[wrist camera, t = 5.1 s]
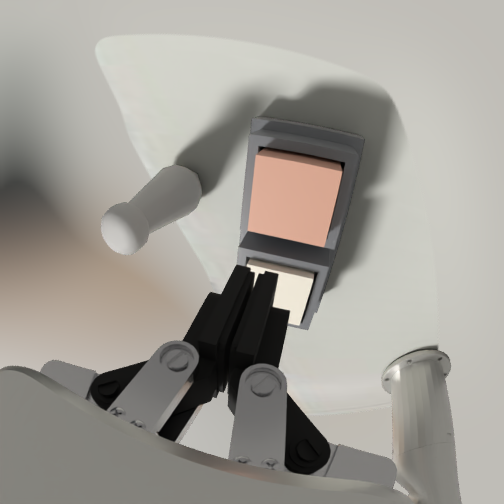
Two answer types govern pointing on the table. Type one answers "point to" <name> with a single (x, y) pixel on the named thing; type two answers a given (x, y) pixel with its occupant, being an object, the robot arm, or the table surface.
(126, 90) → the table surface
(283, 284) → the ivory key
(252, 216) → the terracotta key
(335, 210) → the key panel
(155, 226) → the salt shaker
